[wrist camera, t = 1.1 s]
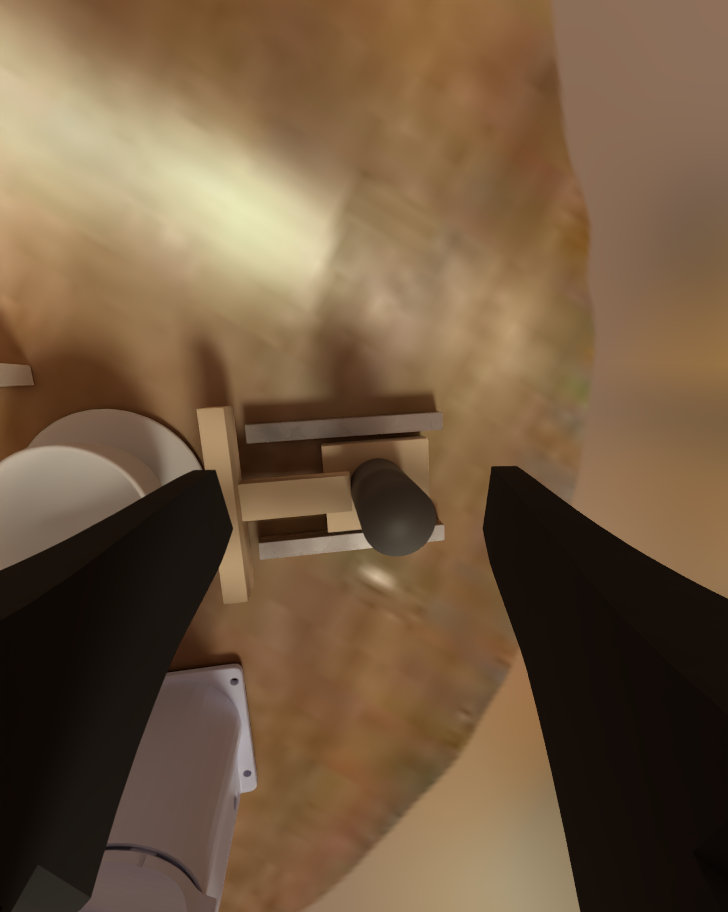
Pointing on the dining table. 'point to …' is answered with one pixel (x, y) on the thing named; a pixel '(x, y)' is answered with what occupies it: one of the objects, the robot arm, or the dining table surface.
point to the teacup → (83, 477)
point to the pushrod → (322, 494)
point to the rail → (328, 429)
